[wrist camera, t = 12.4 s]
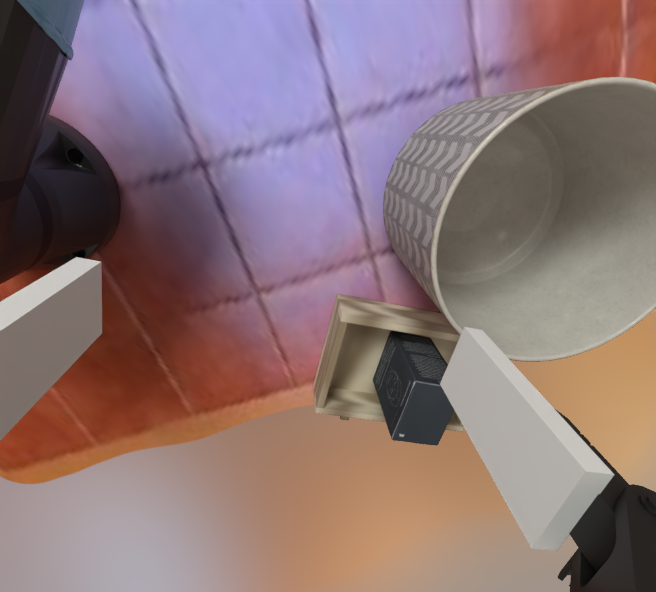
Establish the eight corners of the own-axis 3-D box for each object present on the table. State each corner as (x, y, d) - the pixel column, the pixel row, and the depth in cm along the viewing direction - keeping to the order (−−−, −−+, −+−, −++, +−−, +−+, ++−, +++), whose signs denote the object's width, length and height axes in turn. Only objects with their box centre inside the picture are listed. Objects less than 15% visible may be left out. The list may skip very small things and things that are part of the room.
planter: (508, 55, 36) (689, -5, 19) (569, 217, 43) (738, 273, 27) (344, 172, 39) (378, 205, 23) (426, 304, 46) (497, 402, 30)
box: (411, 385, 50) (438, 447, 40) (371, 379, 49) (389, 440, 39) (432, 336, 47) (466, 390, 37) (390, 328, 46) (414, 381, 36)
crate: (312, 387, 50) (314, 415, 45) (337, 293, 45) (342, 314, 40) (445, 405, 53) (461, 434, 48) (484, 320, 48) (505, 343, 43)
